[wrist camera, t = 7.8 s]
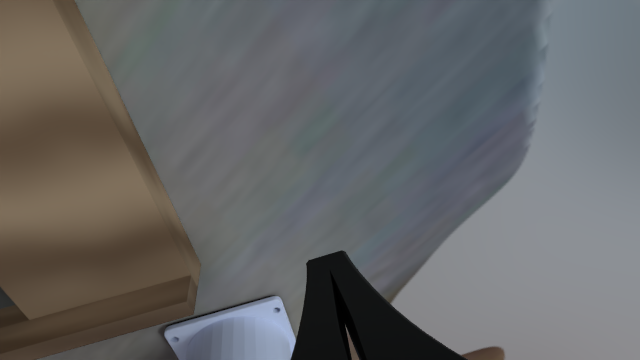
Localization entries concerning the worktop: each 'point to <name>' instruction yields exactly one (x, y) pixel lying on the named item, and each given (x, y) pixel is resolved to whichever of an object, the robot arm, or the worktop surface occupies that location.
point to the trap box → (77, 196)
